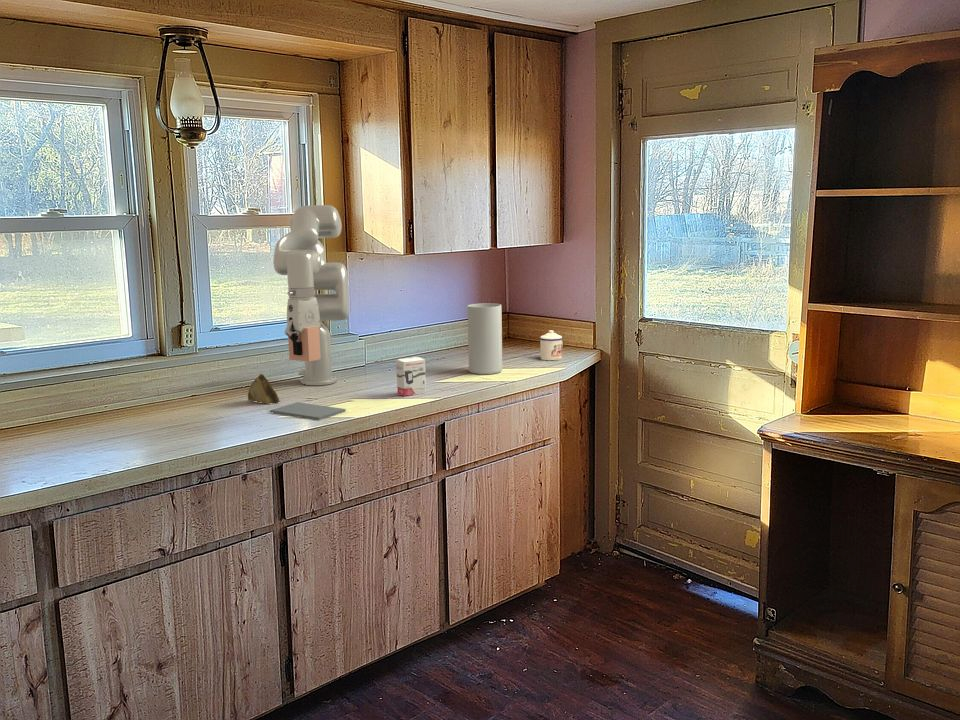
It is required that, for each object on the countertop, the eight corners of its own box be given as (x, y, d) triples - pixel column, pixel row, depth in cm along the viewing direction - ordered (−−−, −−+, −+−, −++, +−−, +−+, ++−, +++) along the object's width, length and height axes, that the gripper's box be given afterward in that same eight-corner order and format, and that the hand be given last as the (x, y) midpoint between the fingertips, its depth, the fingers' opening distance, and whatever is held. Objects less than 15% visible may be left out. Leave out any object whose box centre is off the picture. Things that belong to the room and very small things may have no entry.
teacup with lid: (553, 361, 341) (553, 332, 339) (535, 359, 347) (535, 330, 345) (571, 357, 350) (571, 329, 348) (552, 355, 356) (552, 327, 354)
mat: (270, 412, 265) (269, 410, 265) (297, 404, 275) (297, 402, 275) (319, 420, 255) (318, 417, 255) (345, 411, 265) (345, 408, 265)
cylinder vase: (506, 373, 319) (505, 306, 315) (473, 375, 316) (472, 307, 312) (497, 367, 331) (496, 302, 327) (465, 369, 328) (464, 304, 324)
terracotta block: (309, 361, 258) (307, 328, 256) (289, 359, 262) (287, 326, 260) (320, 358, 262) (318, 326, 260) (301, 357, 266) (299, 324, 264)
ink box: (404, 396, 284) (402, 361, 282) (396, 394, 288) (395, 359, 286) (426, 393, 289) (425, 358, 286) (419, 390, 293) (418, 356, 291)
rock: (238, 394, 281) (246, 396, 272) (251, 372, 283) (260, 372, 275) (266, 411, 286) (275, 412, 277) (279, 388, 288) (288, 389, 279)
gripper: (290, 296, 249) (293, 358, 253) (330, 291, 264) (332, 350, 267) (271, 295, 253) (275, 356, 257) (311, 290, 268) (314, 348, 271)
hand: (304, 352), depth 262 cm, fingers closed on terracotta block, 5 cm apart
